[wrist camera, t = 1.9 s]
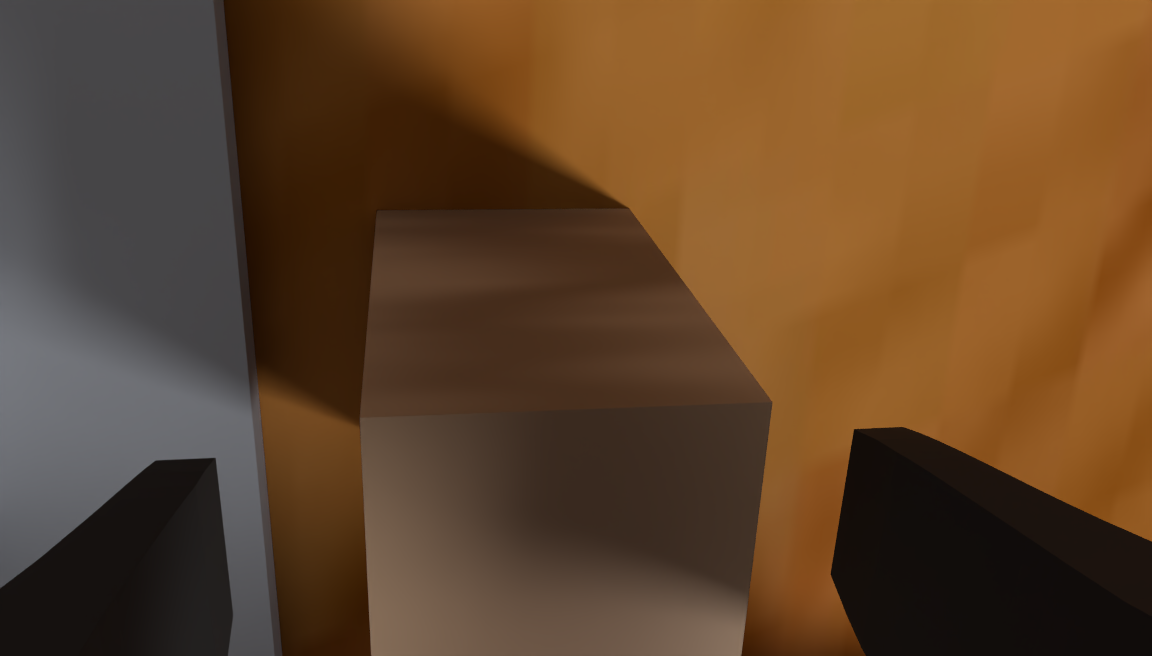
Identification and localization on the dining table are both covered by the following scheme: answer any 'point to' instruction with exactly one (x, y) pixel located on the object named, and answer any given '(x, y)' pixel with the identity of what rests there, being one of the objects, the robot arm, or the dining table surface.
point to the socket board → (125, 279)
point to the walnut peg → (551, 443)
